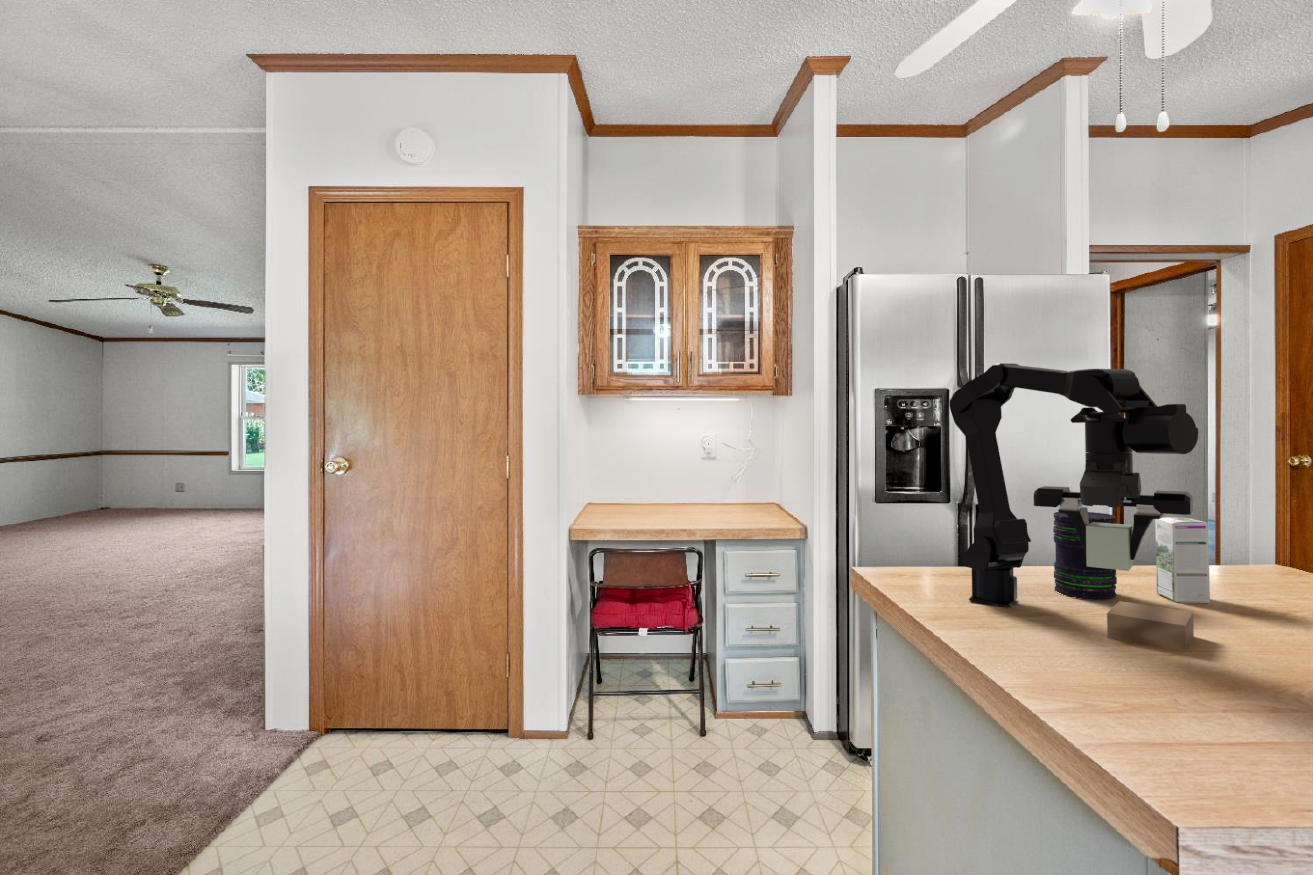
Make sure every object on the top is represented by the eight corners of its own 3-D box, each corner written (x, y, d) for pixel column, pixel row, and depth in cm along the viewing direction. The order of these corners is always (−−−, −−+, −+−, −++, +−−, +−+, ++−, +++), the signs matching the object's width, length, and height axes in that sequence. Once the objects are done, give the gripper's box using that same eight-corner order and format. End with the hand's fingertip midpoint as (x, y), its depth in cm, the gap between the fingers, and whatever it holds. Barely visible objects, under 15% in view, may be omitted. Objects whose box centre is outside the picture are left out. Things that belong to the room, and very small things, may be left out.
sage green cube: (1086, 566, 93) (1086, 526, 93) (1092, 560, 96) (1092, 522, 96) (1128, 570, 89) (1127, 529, 89) (1133, 565, 93) (1132, 525, 93)
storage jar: (1130, 600, 113) (1129, 518, 113) (1075, 601, 113) (1074, 518, 113) (1092, 586, 123) (1091, 510, 123) (1042, 587, 123) (1041, 511, 123)
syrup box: (1211, 603, 110) (1210, 521, 109) (1173, 602, 111) (1172, 521, 111) (1191, 595, 115) (1190, 517, 115) (1154, 594, 116) (1153, 516, 116)
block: (1107, 639, 93) (1107, 613, 93) (1119, 625, 100) (1119, 601, 100) (1185, 654, 87) (1185, 625, 87) (1193, 638, 93) (1193, 612, 93)
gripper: (1023, 454, 93) (1025, 558, 93) (1186, 455, 80) (1188, 575, 81) (1041, 451, 101) (1043, 547, 102) (1192, 452, 88) (1194, 561, 89)
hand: (1110, 557), depth 93 cm, fingers closed on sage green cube, 5 cm apart
